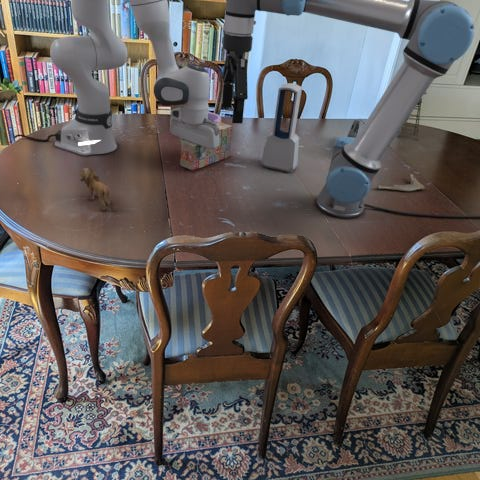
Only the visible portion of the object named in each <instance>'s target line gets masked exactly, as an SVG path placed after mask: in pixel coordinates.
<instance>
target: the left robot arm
mask: <svg viewBox="0 0 480 480" xmlns="http://www.w3.org/2000/svg"><path fill="white" fill-rule="evenodd" d="M128 1H129V5H130V9H131V13H132V16H133V19H134V21H135V23H136V25H137V28H138V29H139V30H140V31H141V32H142V33H143V34H145V36H147V38H148V39H149V41H150V42H151V45H152V50H153V54H154V56H155V61H156V64H157V75H156V80H155V82H154V85H153V95H154V98H155V99H156V100H157V102H159V103H160V104H161V105H164V106H166V107H167V106H169V107H170V106H179V107H175V108H173V109H170V118H169V132H170V134H171V135H172V136H175V137H177V138H179V142H180V144H182V141H184V140H187V141H190V142H193V143H195V144H198V145H200V146H201V148H202V151H201V152H199V157H202V158H203V157H205V152H206V151H207V149H211V150H213V149H216V148H217V147H218V146H219V127H218V125H217V124H216V122H213V121H210V120H208V110H209V107H210V106H209V97H210V91H211V89H210V88H211V82H210V74H209V72H208V70H207V69H206V68H205V67H203V66H201V65H199V64H195V63H187V64H186V65H185V66H183V67H181V68H180V66H179V64H178V62H177V60H176V56H175V52H174V47H173V43H172V39H171V27H170V26H171V19H170V9H169V2H168V0H128ZM109 2H110V1H109V0H71V13H72V14H71V15H72V17H73V19H74V20H75V21H76V23H78V24H79V25H80V26H82V27H84V28H86V29H88V30H89V33H88V34H89V35H70V36H69V35H68V36H64V37H60V38H56V39H54V40H53V41H52V42H51V45H50V49H49V55H50V59H51V62H52V63H53V65H54V66H55V67H56V68H57V69H58V70H59V71H60V72H62V73H64V74H65V75H66V76H67V77H68V78H69V80H70V81H71V83H72V85H73V86H74V90H75V94H76V101H77V108H76V109H75V110H74V111H71V115H72V116H74V115H75V116H74V118H73V119H72V120H71V121H69V122H68V123H67V124H65V125H64V126H63V127H62V128H61V129H60V130H58V131H57V132H55V134H49V135H48V136H47V138H46V139H41V138H36V137H33V136H28V135H25V134H19V133H18V134H16V135H15V136H13V139H16V138H18V137H21V138H25V139H30V140H33V141H38V142H48V141H50V139H51V138H52V137H55V142H54V146H55V147H57V148H59V149H62V150H65V151H69V152H72V153H74V154H78V155H80V156H84V157H85V156H86V157H87V156H92V155H105V154H108V153H111V152H114V151H115V150H116V149H117V148H118V145H117V142H116V140H115V135H114V131H113V111H112V109H111V97H110V90H109V87H108V86H107V85H106V84H105V83H103V82H102V81H99V80H98V79H95V78H93V72H94V71H107V70H111V71H112V70H115V69H119V68H122V67H123V66H124V65H126V62H127V60H128V57H129V56H128V53H129V52H128V48H127V45H126V44H125V42H124V41H123V40H122V38H121V37H119V36H118V35H117V34H116V33H115V31H114V30H113V28H112V25H111V22H110V12H109V8H110V7H109ZM180 105H181V106H180Z"/></svg>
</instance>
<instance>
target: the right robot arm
mask: <svg viewBox="0 0 480 480" xmlns="http://www.w3.org/2000/svg"><path fill="white" fill-rule="evenodd" d="M256 11H257V12H266V13H273V14H280V15H285V16H287V17H289V16H295V17H296V16H297V17H299V16H301V15H302V14H303V13H307V14H310V15H314V16H315V15H316V16H319V17H325V18H330V19H333V20H338V21H342V22H347V23H350V24H356V25H359V26H364V27H369V28H373V29H377V30H382V31H386V32H391V33H395V34H397V35H398V37H399V38H400V39H403V40H406V41H408V42H407V44H406V45H405V47H404V48H403V50H402V55H403V56H402V57H403V62H402V64H401V65H400V67H399V68H398V70H397V71H396V72H395V75H394V76H393V77H392V79H391V81H390V83H389V84H388V86H387V87H386V88H385V91H384V92H383V94H382V96H381V97H380V98H379V100H378V102H377V104H376V105H375V107H374V108H373V110H372V112H371V113H370V115H369V116H368V118H367V119H366V121H365V123H364V124H363V125H362V127H361V128H360V131H358V133H357V136H356V138H353V137H347V136H340V137H338V138H336V139H335V141H334V145H333V150H332V154H331V159H330V164H329V167H328V172H327V175H326V179H325V183H324V185H323V187H322V189H321V190H320V191H319V193H318V195H317V198H316V206H317V208H318V209H319V210H320V211H322V213H324V214H327V215H328V216H332V217H335V218H340V219H354V218H358V217H361V215H362V214H363V213H364V210H365V207H367V208H371V209H374V210H378V211H383V212H388V213H392V214H399V215H406V216H417V217H432V218H448V219H449V218H451V219H453V218H454V219H456V218H457V219H480V215H455V214H454V215H452V214H451V215H450V214H432V213H431V214H429V213H417V212H416V213H415V212H406V211H398V210H393V209H389V208H388V209H387V208H383V207H379V206H375V205H370V204H367V203H365V198H366V197H367V195H368V194H369V191H370V189H371V183H372V181H373V180H374V179H375V177H376V176H377V174H378V173H379V171H380V169H382V161H381V158H382V157H383V155H384V154H385V152H386V151H387V150H388V148H389V146H390V145H391V144H392V142H393V140H394V139H395V138H396V136H397V135H398V133H400V131H401V130H402V128H403V126H404V125H403V124H404V123H405V121H406V120H407V118H408V117H409V118H410V116H411V115H412V112H413V111H414V110H415V109H414V108H417V107H416V106H418V105H419V101H420V99H421V98H422V99H423V97H424V93H425V92H426V93H427V91H428V89H429V88H430V86H431V84H432V83H433V82H434V81H435V79H437V78H441V77H443V76H445V75H446V74H447V72H448V71H449V70H450V68H451V67H452V65H453V64H454V63H455V61H457V60H459V59H460V58H462V57H463V56H464V54H466V52H468V50H469V49H470V47H471V45H472V43H473V40H474V36H475V25H474V20H473V18H472V16H471V14H470V12H468V10H466V9H465V8H464V7H462V6H460V5H458V4H456V3H455V2H451V1H448V0H225V13H224V24H223V31H224V34H223V42H222V48H223V49H224V50H225V51H226V53H225V60H224V65H223V70H222V75H221V79H222V83H223V85H222V100H221V108H232V118H231V119H232V121H231V123H232V124H243V123H244V122H243V121H244V111H245V101H246V100H248V98H249V96H248V92H249V91H248V61H249V60H248V59H247V58H245V53H250V52H251V51H252V48H253V39H254V37H253V35H252V34H254V28H255V27H254V26H255V25H256V24H257V22H256V21H257V20H255V17H256ZM233 92H234V93H233ZM233 94H234V96H233ZM232 104H233V107H232ZM410 114H411V115H410ZM409 115H410V116H409ZM409 118H408V119H409ZM407 121H408V120H407ZM401 127H402V128H401Z"/></svg>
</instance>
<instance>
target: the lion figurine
mask: <svg viewBox="0 0 480 480" xmlns="http://www.w3.org/2000/svg"><path fill="white" fill-rule="evenodd" d="M77 178H78V179H79V181H80V182H81V183H82V182H84V184H85V185H86V187H87V188H88V190H89V194H90V196H89V198H88V199H89V200H94V199H95V196H96V197H98V199H99V201H100V204H101V205H102V207H101V211H106V210H107V206H106V205H108V207H109V208H110V209H111V210H115V209H116V208H115V207H113V206H112V205H111V201H110V190H109V188H108V186H107V184H104V183H103V182H102V181H101V179H100V177H99V175H98V174H97V173H96V172H95V171H94V170H93V169H91V168H89V167H85V168H82V172H80V174H79V175H78V176H77ZM94 192H95V194H94ZM104 197H105V200H106V203H105V200H104Z"/></svg>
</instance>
